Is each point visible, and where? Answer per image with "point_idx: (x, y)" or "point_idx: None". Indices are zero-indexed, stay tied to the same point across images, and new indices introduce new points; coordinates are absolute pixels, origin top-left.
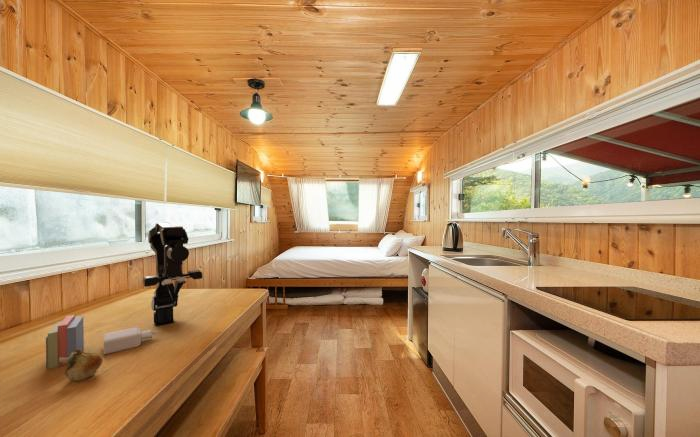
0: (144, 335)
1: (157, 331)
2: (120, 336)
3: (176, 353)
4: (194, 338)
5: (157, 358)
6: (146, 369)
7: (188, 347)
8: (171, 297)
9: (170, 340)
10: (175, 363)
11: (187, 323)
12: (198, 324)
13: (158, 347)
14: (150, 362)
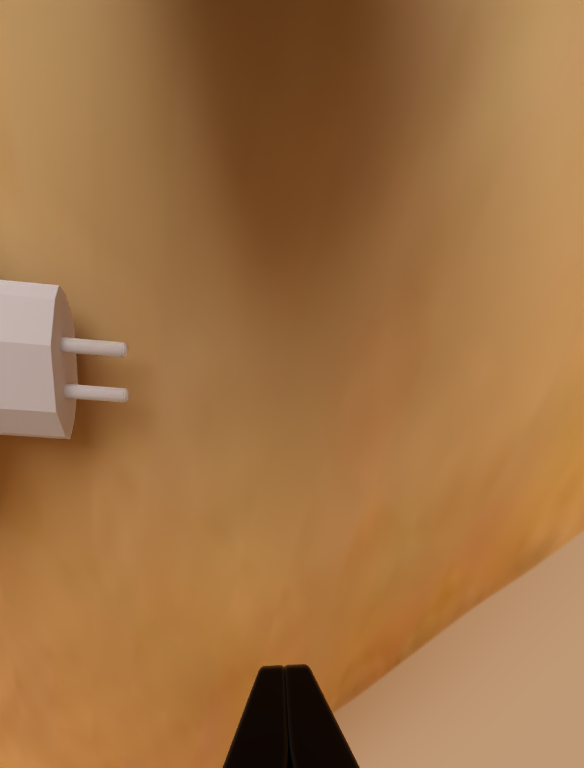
0: (1, 429)
1: (120, 356)
2: None
3: (215, 677)
4: (364, 550)
5: (118, 675)
6: (67, 742)
7: (288, 648)
8: (238, 731)
9: (219, 476)
10: (191, 759)
11: (469, 108)
12: (528, 251)
13: (131, 542)
14: (83, 694)
